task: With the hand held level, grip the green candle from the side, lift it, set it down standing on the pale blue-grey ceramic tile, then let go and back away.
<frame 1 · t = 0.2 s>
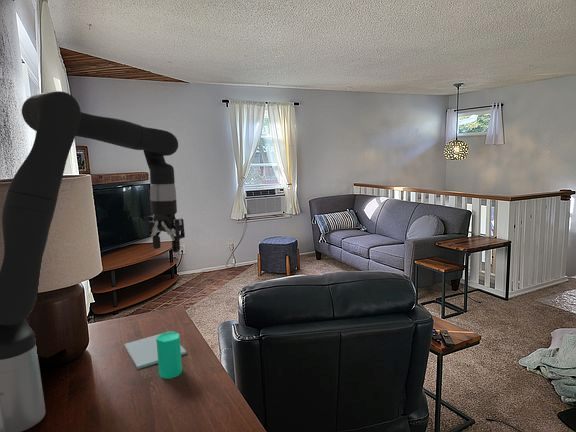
hand: (166, 250, 120), 29 cm above the table, tool pointing down, fingers open, 8 cm apart
candle: (170, 373, 104), on the table
tile: (154, 349, 116), on the table
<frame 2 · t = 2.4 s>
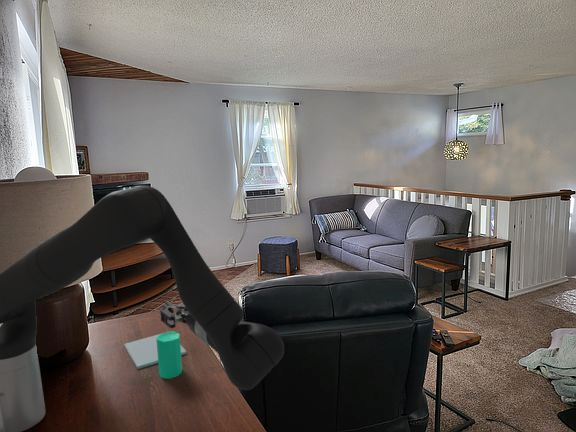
hand: (184, 300, 91), 24 cm above the table, tool horizontal, fingers open, 8 cm apart
nothing on the table moved.
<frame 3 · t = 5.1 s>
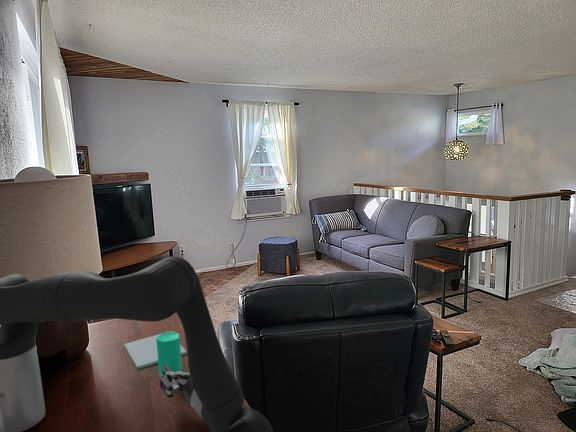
hand: (182, 362, 96), 7 cm above the table, tool horizontal, fingers open, 8 cm apart
nothing on the table moved.
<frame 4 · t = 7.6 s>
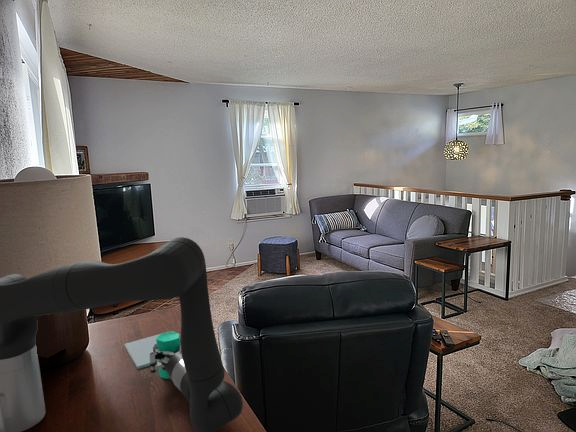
hand: (165, 344, 105), 7 cm above the table, tool horizontal, fingers closed on candle, 4 cm apart
candle: (170, 372, 104), on the table, touching gripper
everything else where it was.
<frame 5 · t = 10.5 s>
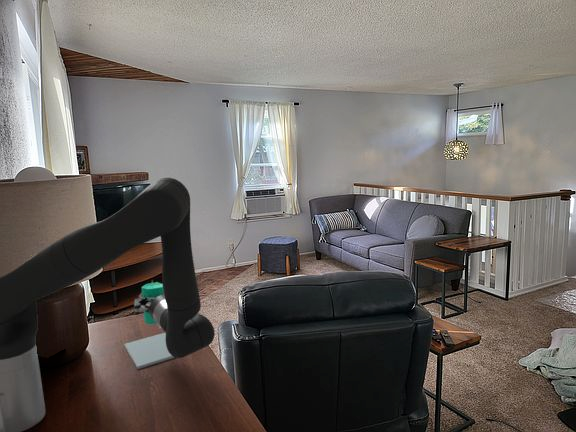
hand: (150, 294, 113), 18 cm above the table, tool horizontal, fingers closed on candle, 4 cm apart
candle: (155, 320, 112), point 11 cm above the table, touching gripper
everything else where it was.
when the fingers open (9 cm above the table, at t = 13.3 s): candle drops 1 cm, resting on tile.
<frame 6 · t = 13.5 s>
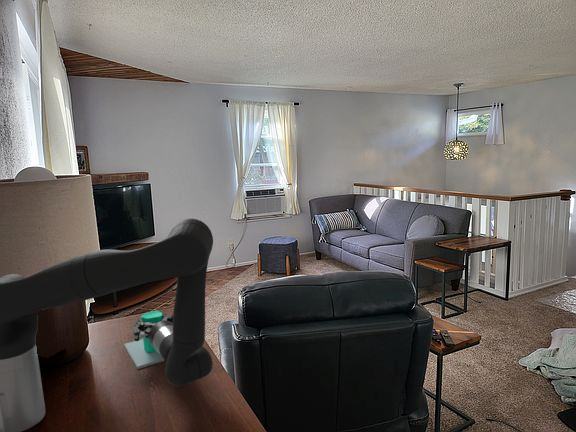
hand: (150, 318, 117), 9 cm above the table, tool horizontal, fingers open, 6 cm apart
candle: (154, 348, 116), point 1 cm above the table, touching tile
everything else where it was.
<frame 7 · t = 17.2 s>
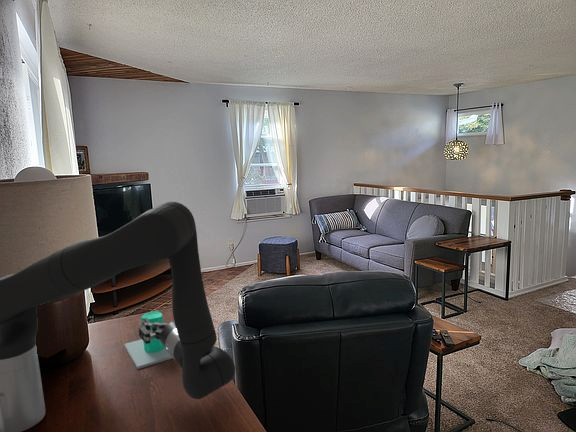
hand: (161, 317, 105), 14 cm above the table, tool horizontal, fingers open, 8 cm apart
nothing on the table moved.
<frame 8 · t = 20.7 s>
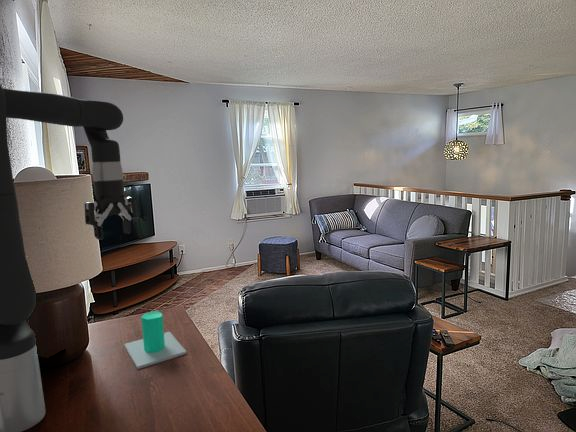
hand: (113, 236, 108), 36 cm above the table, tool pointing down, fingers open, 8 cm apart
nothing on the table moved.
at the end: candle inside the target area on the tile (0.1 cm from its centre), point 0.6 cm above the tile's base; candle tilted 0°; the gripper is holding nothing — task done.
